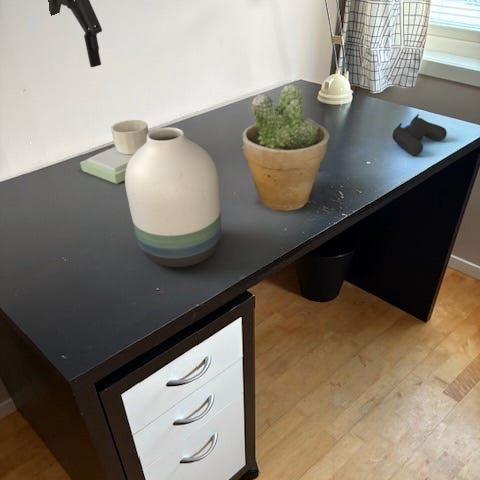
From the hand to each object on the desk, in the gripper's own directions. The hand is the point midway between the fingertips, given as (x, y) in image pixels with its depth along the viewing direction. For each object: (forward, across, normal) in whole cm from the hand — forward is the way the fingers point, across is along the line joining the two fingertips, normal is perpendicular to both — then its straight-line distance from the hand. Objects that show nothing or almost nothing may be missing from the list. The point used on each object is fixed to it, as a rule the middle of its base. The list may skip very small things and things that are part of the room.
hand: (78, 61), depth 118 cm
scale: (+24, -10, -4) cm, 27 cm away
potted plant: (+24, -57, -8) cm, 62 cm away
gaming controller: (+23, -70, -55) cm, 92 cm away
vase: (+24, -52, +22) cm, 61 cm away
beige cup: (+21, -10, -4) cm, 24 cm away
